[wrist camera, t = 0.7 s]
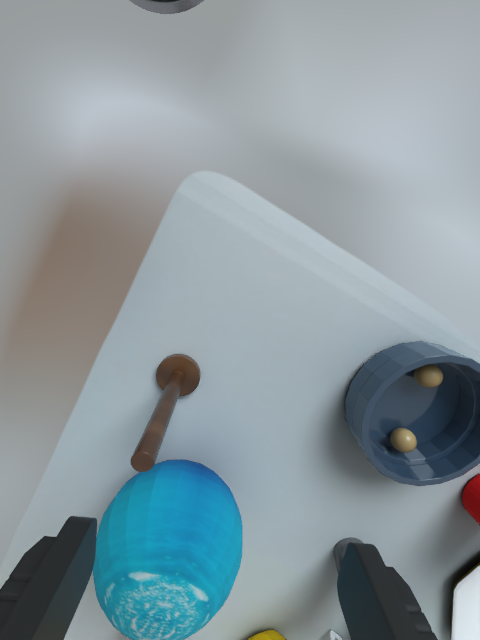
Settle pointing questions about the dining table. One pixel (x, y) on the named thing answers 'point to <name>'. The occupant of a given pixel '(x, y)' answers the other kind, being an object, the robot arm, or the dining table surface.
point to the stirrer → (165, 406)
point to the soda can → (472, 498)
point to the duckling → (267, 636)
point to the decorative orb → (167, 551)
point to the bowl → (417, 413)
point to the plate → (466, 606)
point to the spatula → (334, 635)
